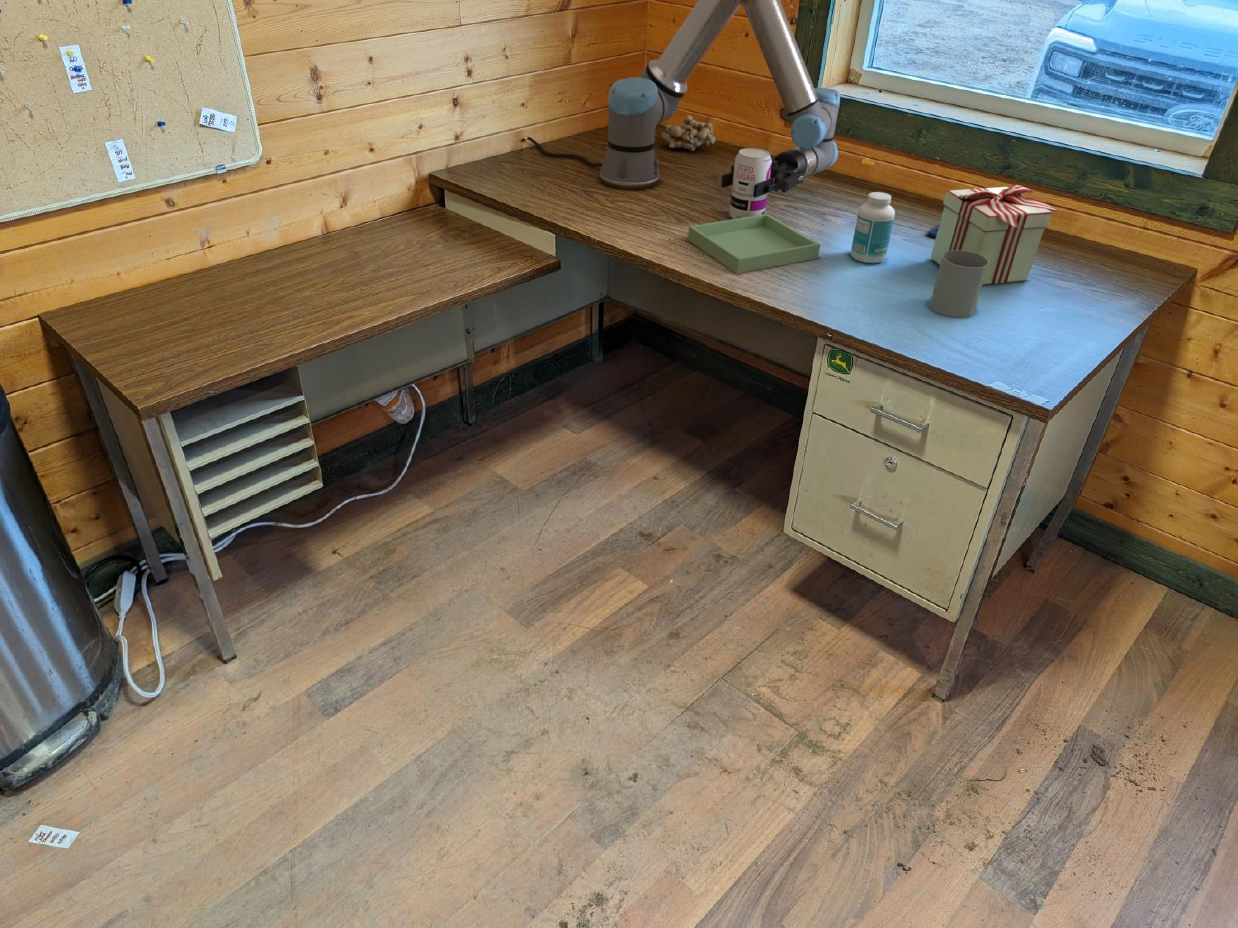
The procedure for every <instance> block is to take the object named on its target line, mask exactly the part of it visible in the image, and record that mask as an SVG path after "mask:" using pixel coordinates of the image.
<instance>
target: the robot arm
mask: <svg viewBox="0 0 1238 928" xmlns="http://www.w3.org/2000/svg"><path fill="white" fill-rule="evenodd" d="M741 5H742V7H743V10H744V13H745V14H746V17H747V19H748V21H749V24H750V27H751V29H752V31H753V35H754V36H755V39H756V41H757V44H758V46H759V49H760V50H761V54H762V56H763V59H764V61H765V63H766V65H767V68H768V72H769V73H770V76H771V78H772V81H773V83H774V86H775V89H776V90H777V92H778V96H779V97H780V100H781V103H782V105H783V107H784V109H785V112H786V115H787V117H788V120H789V122H790V126H791V127H790V138H791V141H792V143H793V144H794V145H795V146H794V147H792V148H789V149H787V150H785V151H781V152H779V153H777V155H775V157H774V158H773V160H772V164H771V172H770V179H768V180H766V181H763V182H760V183H758V184H755V185H754V193H753V197H755V198H756V197H759V196H761V195H764V194H766V193H768V194H769V193H772V192H779V190H780V191H781V193H784V194H785V193H787V192H789V191H790V190H792V189H793V188H795V187H796V186H797V185H800V184H803V183H804V181H805V178H807V177H810V176H812V175H816V174H818V173H822V172H823V171H826V170H827V169H829V168H831V167H832V166H833V165H835V163H836V161H837V160H838V158H839V157H838V156H839V148H838V145H837V143H836V142H835V140H834V137H835V131H836V125H837V121H838V116H839V115H838V114H839V110H840V104H841V103H840V102H841V93H840V92H839V91H838V90H836V89H834V88H827V87H814V84H813V82H812V79H811V76H810V73H809V71H808V68H807V66H806V64H805V61H804V59H803V56H802V54H801V51H800V48H799V46H798V42H797V41H796V37H795V35H794V32H793V30H792V27H791V25H790V23H789V20H788V17H787V14H786V11H785V9H784V6H783V4H782V1H781V0H697V2H696V3H695V5H694V6H693V8H692V9H691V11H690V12H689V14H688V15H687V17H686V18H685V20H684V21H683V22H682V24H681V26H680V27H679V28H678V29H677V32H676V33H675V35H674V36H673V38H672V39H671V40H670V42H669V44H668V45H667V47H666V48H665V50H664V51H663V53H661V55H660V56H659V58H658V59H651V60H650V61H649V62H648V64H647V65H646V67H645V68H644V69H643V71H642V72H641V74H640V75H639V77H637V76H636V77H627V78H621V79H619V80H617V81H615V82H613V84H612V85H610V87H609V88H610V89H609V94H608V99H607V102H608V103H607V104H608V117H607V118H608V119H607V121H608V122H607V126H608V127H607V150H606V153H605V156H604V159H603V162H602V163H601V162H592V161H590V160H588V159H587V158H586V157H585V156H582V155H579V154H574V153H554V152H549V151H547V150H545V149H544V146H542V145H541V144H540V143H539V142H537V141H536V140H535V139H534V138H533V137H531V136H527V137H528V138H527V139H528V140H527V139H524V137H523V138H521V140H520V142H525V141H530V142H531V143H532V144H533V145H535V146H536V147H537V148H539V149H540V151H541V152H542V154H544V155H546V156H550V157H556V158H557V157H558V158H575V159H578V160H582V161H583V162H584V163H586V164H587V165H589V166H592V167H600V171H599V181H600V182H601V183H602V184H604V185H606V186H607V187H610V188H615V189H620V190H631V191H632V190H635V191H636V190H645V189H649V188H653V187H655V186H658V185H659V183H660V180H661V173H660V172H661V171H660V168H659V161H658V159H657V156H656V152H655V141H656V128H657V127H658V126H659V125H660V124H662V123H664V122H666V121H667V120H668V119H670V118H671V117H672V116H673V115H674V114H675V112H676V111H677V109H678V107H679V104H680V102H681V100H682V99H683V97H684V96H685V94H686V93H687V91H688V85H687V81H688V79H689V78H690V77H691V75H692V74H693V72H694V71H695V70H696V68H697V67H698V66H699V64H700V63H701V62H702V61H703V58H704V57H705V56H706V54H707V53H708V51H709V50H710V48H711V47H712V46H713V44H714V43H715V42H716V40H717V39H718V38H719V36H720V34H721V33H722V31H724V29H725V27H726V26H727V25H728V23H729V22H730V20H731V19H732V17H733V16H734V15H735V13H736V12H737V10H739V8H740V6H741ZM734 166H735V164H732V165H730V171H729V172H727V173H724V174H722V175H721V181H720V188H723V189H724V188H727V187H731V186H732V185H733V175H734Z"/></svg>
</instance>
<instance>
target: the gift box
mask: <svg viewBox="0 0 1238 928" xmlns="http://www.w3.org/2000/svg"><path fill="white" fill-rule="evenodd" d="M1026 193H1030V194H1032V193H1034V190H1032V189H1030V188H1027V187H1025V186H1023V185H1020V184H1014V185H1011V186H1009V187H1008V186H998V187H996V186H995V187H983V188H982V187H981V188H980V187H979V188H968V189H967V188H966V189H964V188H963V189H951V190H946V192H945V194H944V199H943V203H942V206H944V207H943V210H942V214H941V218H940V221H939V224H938V225H939V228H938V232H937V236H936V237H935V240H934V243H933V247H932V250H931V254H930V259H931V260H932V261H934V262H935V263H936V264H938V265H939V266H940V263H941V260H942V256H943V253H945V252H947V251H952V250H963V251H970V252H974V253H977V254H980V255H982V256H984V257H985V258H986V259H987V260H988V261H989V264H988V268H987V271H986V274H985V278H984V281H983V285H982V286H986V285H997V284H1006V283H1017V282H1025V281H1027V280H1028V278H1029V275H1030V272H1031V271H1032V270H1031V269H1032V266H1033V263H1034V261H1035V258H1036V255H1037V252H1038V249H1039V246H1040V243H1041V241H1042V237H1043V234H1044V233H1045V232H1044V231H1045V229H1046V228H1048V227H1049V224H1050V222H1051V219H1052V215H1053V212H1058V213H1059V212H1060V210H1058V209H1055V207H1052V206H1051V205H1049V204H1047V203H1046V202H1043V201H1039V200H1036V199H1032V198H1028V197H1026V196H1024V195H1023V194H1026ZM1052 211H1053V212H1052Z"/></svg>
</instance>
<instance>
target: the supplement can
mask: <svg viewBox="0 0 1238 928" xmlns="http://www.w3.org/2000/svg"><path fill="white" fill-rule="evenodd" d="M772 161H773V160H772V157H771V152H770V151H768V150H766V149H763V148H756V147H746V148H742V149H741V148H740V149H739V151H738V153H737V154H736V156H735V158H734V165H735V166H734V175H733V185H731V193H730V194H731V195H730V202H729V213H728V215H729V216H730V217H731V220H732V219H738V218H744V217H750V216H756V215H762V214H766V208H767V201H768V194H769V193H766V194H764V195H761V196H759V197H756V198H755V197H753V193H754V185H755V184H758V183H760V182H763V181H766V180H768V179H771V178H770V172H771V164H772Z"/></svg>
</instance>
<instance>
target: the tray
mask: <svg viewBox="0 0 1238 928" xmlns="http://www.w3.org/2000/svg"><path fill="white" fill-rule="evenodd" d="M687 240H688V242H690V243H692V244H693V245H694V246H696V247H698V248H699V249H700V250H702V251H703V252H705V253H706V254H708V255H709V256H710V257H712V258H713V259H715V260H717V261H718V262H719V263H721V264H723V266H725V267H727V268H728V269H730V270H731V271H732V272H734V273H735V274H742V273H743V274H744V273H747V272H748V273H749V272H752V271H758V270H763V269H769V268H775V267H779V266H783V265H789V264H795V263H800V262H805V261H811V260H815V259H818V258H819V253H820V249H821V244H820V243H818V242H817V241H815V240H814V239H811V238H810V237H808V236H807V235H804V234H803V233H801V232H800V231H798V230H796V229H794V228H792V227H791V226H789V225H788V224H786V223H784V222H782V221H781V220H779V219H777V218H775V217H774V216H772V215H770V214H768V213H765V214H762V215H756V216H750V217H744V218H738V219H732V218H731V219H726V220H720V221H714V222H708V223H702V224H695V225H690V226H688V236H687Z"/></svg>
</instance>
